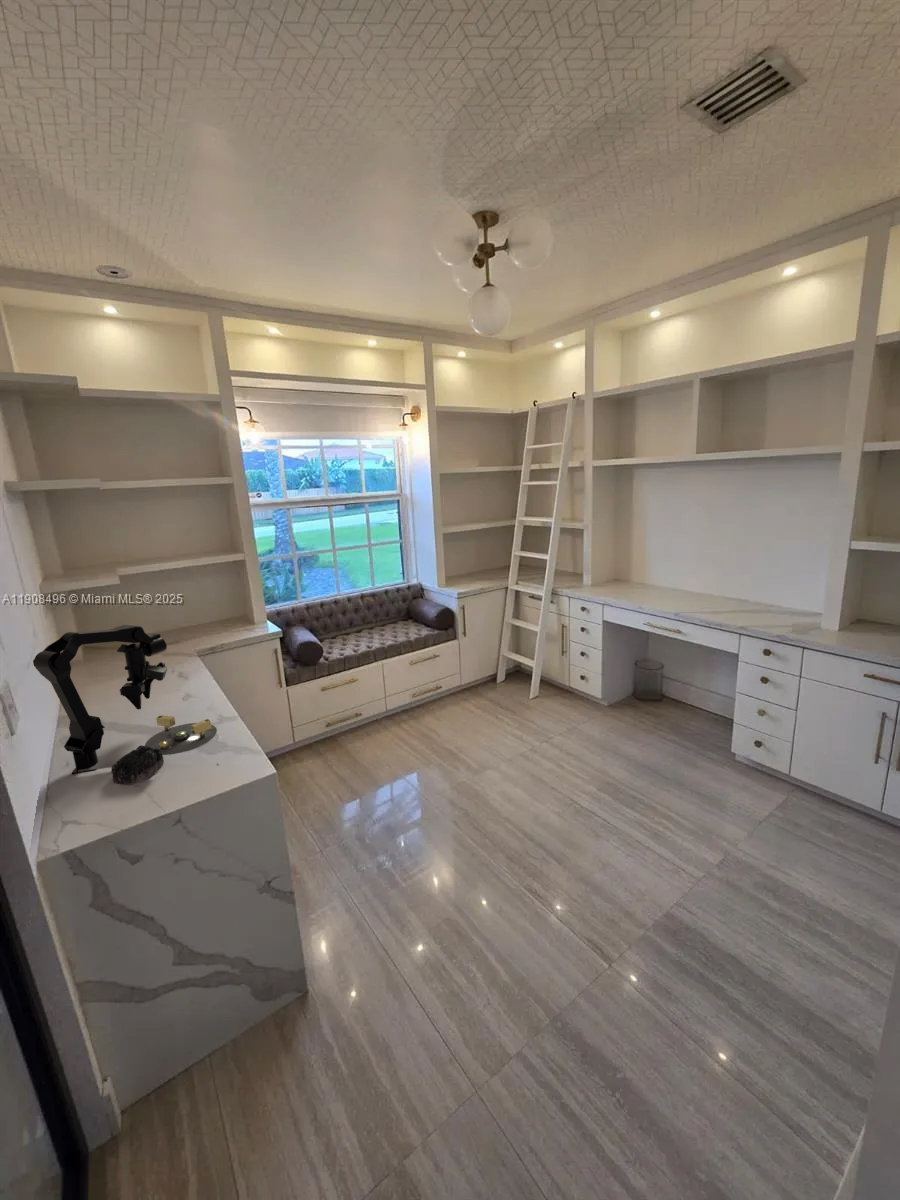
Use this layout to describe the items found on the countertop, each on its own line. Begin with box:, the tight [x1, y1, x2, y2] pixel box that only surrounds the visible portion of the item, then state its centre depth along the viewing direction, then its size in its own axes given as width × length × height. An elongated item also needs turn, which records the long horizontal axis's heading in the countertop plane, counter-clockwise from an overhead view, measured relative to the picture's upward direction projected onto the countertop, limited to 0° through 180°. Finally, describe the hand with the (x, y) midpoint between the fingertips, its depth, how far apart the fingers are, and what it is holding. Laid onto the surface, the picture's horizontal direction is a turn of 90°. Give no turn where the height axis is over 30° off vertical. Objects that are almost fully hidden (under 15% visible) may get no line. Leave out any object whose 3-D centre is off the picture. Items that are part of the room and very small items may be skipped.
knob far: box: [155, 714, 176, 732], centre depth 176 cm, size 6×2×5 cm, turn 76°
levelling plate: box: [144, 722, 218, 756], centre depth 171 cm, size 22×22×3 cm
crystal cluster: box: [111, 744, 165, 786], centre depth 151 cm, size 13×14×10 cm
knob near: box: [191, 718, 212, 738], centre depth 171 cm, size 6×2×5 cm, turn 142°
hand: (143, 703), depth 174 cm, fingers open, 9 cm apart
